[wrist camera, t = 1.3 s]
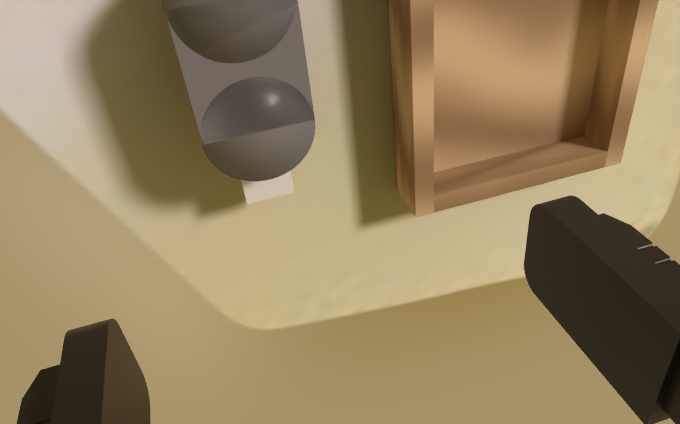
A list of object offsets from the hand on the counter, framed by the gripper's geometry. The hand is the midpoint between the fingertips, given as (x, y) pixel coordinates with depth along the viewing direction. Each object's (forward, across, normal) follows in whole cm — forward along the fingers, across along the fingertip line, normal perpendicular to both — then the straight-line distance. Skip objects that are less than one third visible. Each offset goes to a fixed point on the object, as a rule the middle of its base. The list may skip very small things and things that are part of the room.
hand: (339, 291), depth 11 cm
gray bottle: (+16, 0, 0) cm, 16 cm away
